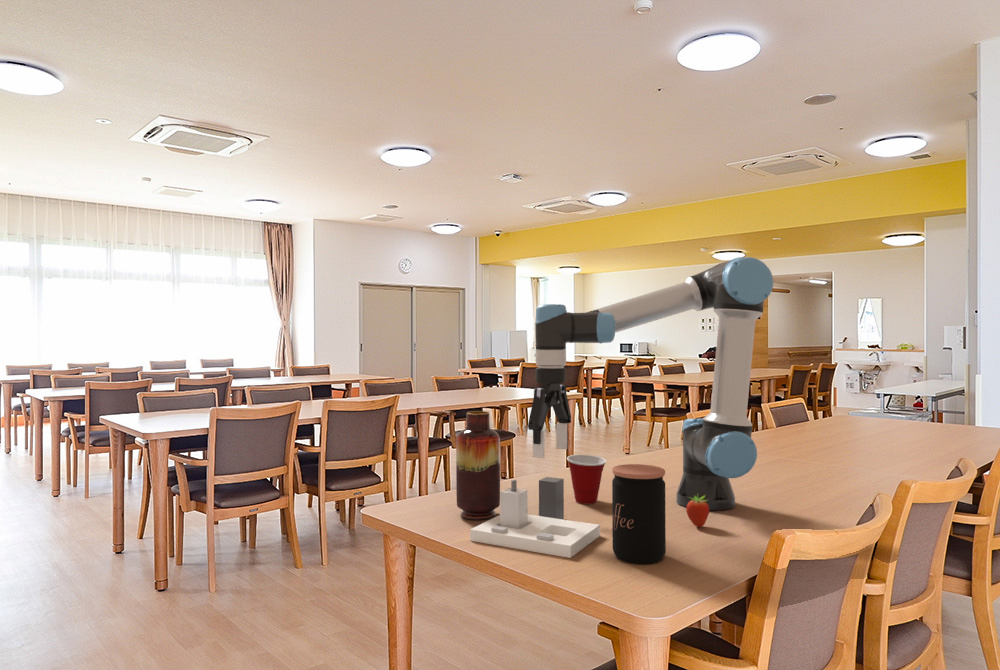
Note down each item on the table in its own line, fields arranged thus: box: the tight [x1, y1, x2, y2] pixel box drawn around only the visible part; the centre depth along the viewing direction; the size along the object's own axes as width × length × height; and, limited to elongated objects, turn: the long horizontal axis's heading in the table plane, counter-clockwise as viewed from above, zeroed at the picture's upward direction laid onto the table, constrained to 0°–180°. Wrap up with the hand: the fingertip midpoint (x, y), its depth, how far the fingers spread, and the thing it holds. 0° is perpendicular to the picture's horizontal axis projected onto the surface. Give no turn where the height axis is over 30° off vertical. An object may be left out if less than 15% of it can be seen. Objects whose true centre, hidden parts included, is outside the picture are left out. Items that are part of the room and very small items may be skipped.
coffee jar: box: [611, 463, 667, 565], centre depth 136 cm, size 11×11×18 cm
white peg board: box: [469, 479, 601, 559], centre depth 148 cm, size 24×17×12 cm
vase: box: [455, 410, 501, 521], centre depth 167 cm, size 11×11×26 cm
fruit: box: [685, 494, 710, 528], centre depth 156 cm, size 5×5×8 cm
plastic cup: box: [566, 453, 607, 505], centre depth 181 cm, size 11×11×12 cm
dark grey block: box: [538, 476, 565, 520], centre depth 163 cm, size 5×5×10 cm
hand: (550, 453), depth 163 cm, fingers open, 13 cm apart
